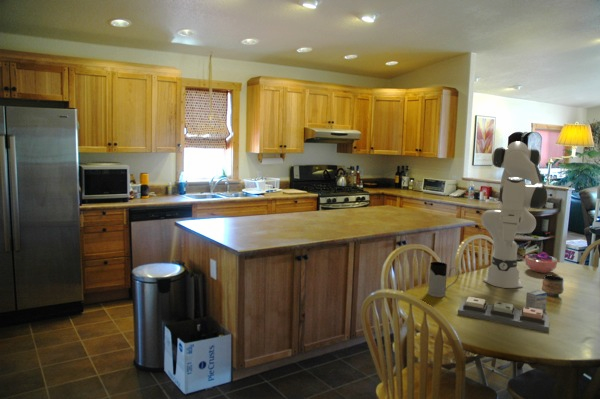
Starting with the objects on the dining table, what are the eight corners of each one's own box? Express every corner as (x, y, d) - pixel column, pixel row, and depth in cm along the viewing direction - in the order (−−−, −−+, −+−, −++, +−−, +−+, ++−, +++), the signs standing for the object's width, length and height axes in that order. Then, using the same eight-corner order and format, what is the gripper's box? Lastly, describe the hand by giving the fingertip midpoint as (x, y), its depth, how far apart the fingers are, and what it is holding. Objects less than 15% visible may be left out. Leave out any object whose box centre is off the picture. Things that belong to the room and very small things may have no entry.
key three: (523, 310, 187) (523, 306, 187) (542, 314, 184) (542, 309, 184) (522, 316, 181) (523, 311, 181) (541, 320, 178) (542, 314, 178)
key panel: (463, 304, 202) (463, 296, 202) (548, 320, 186) (549, 312, 186) (457, 314, 190) (458, 306, 190) (548, 332, 174) (549, 323, 174)
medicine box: (534, 314, 193) (536, 295, 192) (524, 310, 197) (526, 291, 195) (545, 311, 196) (547, 292, 195) (536, 308, 200) (538, 289, 199)
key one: (468, 300, 198) (468, 296, 198) (485, 303, 194) (485, 299, 194) (465, 305, 192) (466, 300, 191) (483, 309, 188) (483, 304, 188)
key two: (495, 305, 193) (495, 301, 192) (512, 309, 189) (513, 304, 189) (493, 310, 186) (493, 306, 186) (511, 314, 183) (512, 309, 183)
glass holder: (425, 290, 221) (427, 261, 219) (455, 292, 219) (457, 262, 217) (429, 296, 212) (431, 265, 210) (459, 298, 210) (462, 267, 209)
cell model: (518, 271, 259) (519, 252, 257) (531, 265, 272) (533, 247, 271) (549, 278, 246) (551, 258, 245) (561, 271, 260) (563, 253, 259)
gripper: (505, 212, 197) (503, 242, 198) (501, 218, 179) (498, 252, 181) (521, 213, 194) (518, 244, 195) (518, 220, 176) (515, 254, 178)
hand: (509, 248), depth 188 cm, fingers open, 4 cm apart
